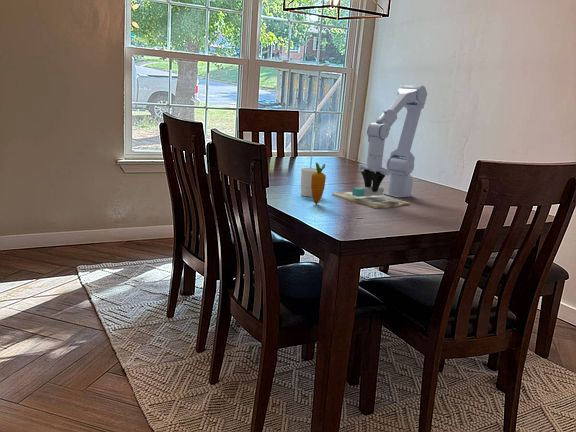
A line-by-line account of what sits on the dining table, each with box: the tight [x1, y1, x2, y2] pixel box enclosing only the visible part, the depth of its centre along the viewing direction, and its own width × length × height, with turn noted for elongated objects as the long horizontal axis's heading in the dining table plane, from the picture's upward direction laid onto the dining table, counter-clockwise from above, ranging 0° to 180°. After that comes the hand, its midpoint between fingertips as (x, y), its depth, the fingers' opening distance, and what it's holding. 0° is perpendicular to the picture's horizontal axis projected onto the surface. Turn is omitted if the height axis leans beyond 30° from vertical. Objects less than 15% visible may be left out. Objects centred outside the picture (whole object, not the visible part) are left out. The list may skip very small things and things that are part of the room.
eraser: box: [351, 186, 384, 197], centre depth 202 cm, size 14×3×3 cm, turn 126°
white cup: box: [300, 167, 323, 198], centre depth 203 cm, size 8×8×10 cm
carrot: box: [311, 162, 327, 205], centre depth 187 cm, size 5×5×15 cm
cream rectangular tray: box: [331, 191, 411, 209], centre depth 203 cm, size 18×24×2 cm
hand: (371, 190), depth 203 cm, fingers closed on eraser, 3 cm apart
